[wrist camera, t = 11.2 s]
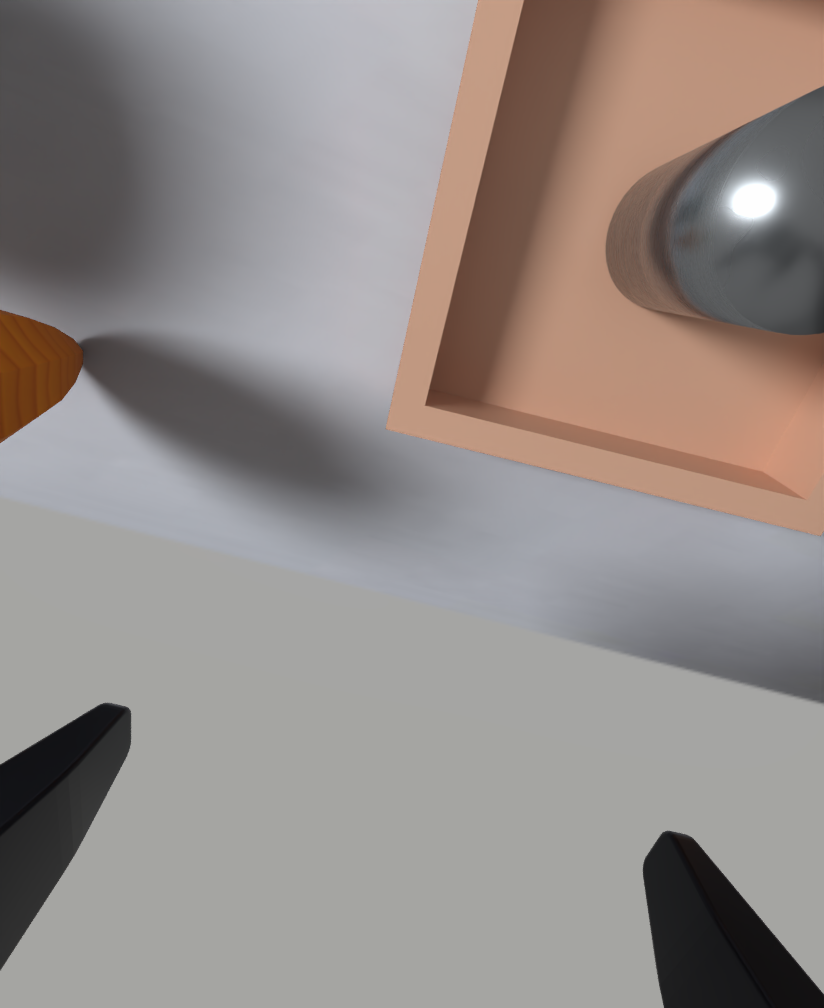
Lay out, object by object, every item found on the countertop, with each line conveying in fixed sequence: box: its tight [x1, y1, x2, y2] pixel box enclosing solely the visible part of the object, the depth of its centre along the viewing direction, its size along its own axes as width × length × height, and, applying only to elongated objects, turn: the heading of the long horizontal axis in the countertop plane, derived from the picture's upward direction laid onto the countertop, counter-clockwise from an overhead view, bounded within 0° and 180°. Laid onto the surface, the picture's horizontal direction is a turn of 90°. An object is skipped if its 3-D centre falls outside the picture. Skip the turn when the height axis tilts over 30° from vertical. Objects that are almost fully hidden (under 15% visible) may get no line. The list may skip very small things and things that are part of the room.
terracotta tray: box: [386, 0, 824, 536], centre depth 15 cm, size 14×14×4 cm
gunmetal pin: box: [605, 86, 824, 335], centre depth 12 cm, size 4×4×7 cm
